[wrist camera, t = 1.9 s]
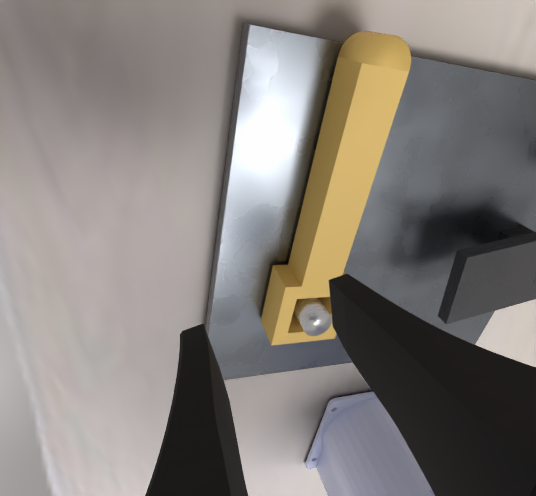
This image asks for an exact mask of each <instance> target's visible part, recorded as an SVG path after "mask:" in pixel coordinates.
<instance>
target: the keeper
mask: <svg viewBox="0 0 536 496" xmlns="http://www.w3.org/2000/svg"><path fill="white" fill-rule="evenodd" d="M534 299H536V232H534V231H532V230H531V229H529V228H527V227H526V226H522V227H517V228H513V229H508V230H504V231H501V232H500V235H499V237H498V240H497V241H493V242H489V243H484V244H480V245H476V246H472V247H467V248H463V249H459V250H457V252H456V255H455V259H454V262H453V265H452V269H451V272H450V276H449V279H448V282H447V286H446V289H445V292H444V296H443V299H442V303H441V306H440V309H439V313H438V317H439V318H440V319H441V320H442V321H443V322H444V323H445V324H449V323H453V322H456V321H460V320H463V319H467V318H470V317H474V316H477V315H481V314H484V313H488V312H491V311H495V310H498V309H502V308H506V307H509V306H513V305H516V304H520V303H523V302H527V301H530V300H534Z"/></svg>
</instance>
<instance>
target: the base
mask: <svg viewBox="0 0 536 496" xmlns="http://www.w3.org/2000/svg"><path fill="white" fill-rule="evenodd" d="M343 44H344V43H343V42H337V41H332V40H327V39H322V38H317V37H312V36H307V35H302V34H297V33H292V32H287V31H281V30H276V29H271V28H266V27H261V26H256V25H251V24H246V23H243V27H242V35H241V43H240V51H239V59H238V67H237V75H236V83H235V91H234V99H233V107H232V115H231V123H230V131H229V139H228V147H227V155H226V163H225V171H224V179H223V187H222V195H221V203H220V211H219V219H218V227H217V235H216V243H215V251H214V259H213V267H212V275H211V283H210V290H209V298H208V306H207V314H206V322H205V329H206V332H207V335H208V338H209V340H210V343H211V346H212V348H213V351H214V354H215V356H216V359H217V362H218V365H219V367H220V370H221V374H222V377H223V380H227V379H235V378H242V377H249V376H256V375H264V374H271V373H278V372H285V371H293V370H300V369H307V368H314V367H321V366H329V365H336V364H343V363H350V362H352V360H351V359H350V357H349V356H348V354H347V352H346V351H345V349H344V347H343V345H342V343H341V341H340V339H339V337H338V335H337V334H336V336H335V339H326V340H317V341H308V342H299V343H290V344H281V345H272V346H271V343H270V341H269V339H268V337H267V334H266V332H265V330H264V328H263V325H262V323H261V318H262V313H263V308H264V304H265V299H266V295H267V290H268V285H269V281H270V276H271V272H272V267H273V265H288V263H289V259H290V255H291V251H292V246H293V242H294V238H295V234H296V230H297V226H298V221H299V217H300V213H301V209H302V205H303V201H304V196H305V192H306V188H307V184H308V180H309V175H310V171H311V167H312V163H313V159H314V155H315V150H316V146H317V142H318V138H319V134H320V130H321V125H322V121H323V117H324V113H325V109H326V105H327V100H328V96H329V92H330V88H331V84H332V80H333V75H334V71H335V67H336V63H337V59H338V55H339V52H340V49H341V47H342V45H343ZM522 226H526V227H527V228H529V229H531V230H532V231H534V232H536V80H531V79H526V78H521V77H516V76H511V75H506V74H500V73H495V72H490V71H485V70H480V69H475V68H470V67H465V66H460V65H455V64H450V63H444V62H439V61H434V60H429V59H424V58H419V57H414V56H411V66H410V70H409V73H408V77H407V80H406V83H405V86H404V89H403V92H402V95H401V98H400V101H399V104H398V107H397V110H396V113H395V116H394V119H393V122H392V125H391V128H390V132H389V135H388V138H387V141H386V144H385V147H384V150H383V153H382V156H381V159H380V162H379V165H378V168H377V171H376V174H375V177H374V180H373V183H372V186H371V190H370V193H369V196H368V199H367V202H366V205H365V208H364V211H363V214H362V217H361V220H360V223H359V226H358V229H357V232H356V235H355V238H354V241H353V244H352V248H351V251H350V254H349V257H348V260H347V263H346V266H345V269H344V272H345V273H346V274H349V275H350V276H352V277H354V278H355V279H357V280H358V281H360V282H361V283H363V284H364V285H366V286H367V287H369V288H370V289H372V290H374V291H375V292H377V293H378V294H380V295H381V296H383V297H385V298H386V299H388V300H389V301H391V302H393V303H394V304H396V305H398V306H400V307H401V308H403V309H405V310H406V311H408V312H410V313H411V314H413V315H415V316H417V317H419V318H420V319H422V320H424V321H426V322H428V323H430V324H432V325H434V326H436V327H437V328H439V329H441V330H443V331H445V332H447V333H449V334H452V335H454V336H456V337H458V338H460V339H463V340H465V341H467V342H469V343H472V344H474V345H475V343H476V342H477V340H478V338H479V337H480V335H481V333H482V332H483V330H484V328H485V327H486V325H487V323H488V322H489V320H490V318H491V316H492V315H493V313H494V311H491V312H488V313H484V314H481V315H477V316H474V317H470V318H467V319H463V320H460V321H456V322H453V323H449V324H445V323H444V322H443V321H442V320H441V319H440V318H439V317H438V313H439V309H440V306H441V303H442V299H443V296H444V292H445V289H446V286H447V282H448V279H449V276H450V272H451V269H452V265H453V262H454V259H455V255H456V252H457V250H459V249H463V248H467V247H472V246H476V245H480V244H484V243H489V242H493V241H497V240H498V237H499V235H500V232H501V231H504V230H508V229H513V228H517V227H522ZM293 312H294V313H295V315H296V317H297V319H298V321H299V322H300V324H301V326H302V328H303V330H304V331H305V333H306V334H307V335H309V336H318V335H321V334H323V333H324V332H326V331H327V330H328V329H329V327H330V326H331V324H332V318H331V316H330V315H329V313H328V312H327V310H326V309H325V307H324V306H323V304H322V303H321V301H320V299H319V298H305V299H297V300H296V304H295V308H294V311H293Z"/></svg>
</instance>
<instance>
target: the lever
mask: <svg viewBox="0 0 536 496" xmlns="http://www.w3.org/2000/svg"><path fill="white" fill-rule="evenodd" d="M410 66H411V53H410V49H409V47H408V45H407V43H406V42H405V41H404V40H403V39H402V38H400V37H398V36H394V35H388V34H382V33H376V32H370V31H360V32H357V33H355V34H353V35H351V36H350V37H349V38H348V39H347V40H346V41H345V42H344V44H343V45H342V47H341V49H340V52H339V55H338V59H337V63H336V67H335V71H334V75H333V80H332V84H331V88H330V92H329V96H328V100H327V105H326V109H325V113H324V117H323V121H322V125H321V130H320V134H319V138H318V142H317V146H316V150H315V155H314V159H313V163H312V167H311V171H310V175H309V180H308V184H307V188H306V192H305V196H304V201H303V205H302V209H301V213H300V217H299V221H298V226H297V230H296V234H295V238H294V242H293V246H292V251H291V255H290V259H289V263H288V265H273V267H272V272H271V276H270V281H269V285H268V290H267V295H266V299H265V304H264V308H263V313H262V318H261V323H262V325H263V328H264V330H265V332H266V334H267V337H268V339H269V341H270V343H271V346H272V345H281V344H290V343H299V342H308V341H317V340H326V339H335V336H336V332H335V330H334V328H333V324H331V326H330V327H329V329H328V330H327V331H326V332H324V333H323V334H321V335H318V336H309V335H307V334H306V333H305V331H304V330H303V328H302V326H301V324H300V322H299V321H298V319H297V317H296V315H295V313H294V312H293V311H294V308H295V304H296V300H297V299H305V298H319V299H320V301H321V303H322V304H323V306H324V307H325V309H326V310H327V312H328V313H329V315H330V316H331V318H332V313H331V301H330V290H329V280H330V279H333V278H336V277H338V276H341V275H344V274H346V273H345V272H344V269H345V266H346V263H347V260H348V257H349V254H350V251H351V248H352V244H353V241H354V238H355V235H356V232H357V229H358V226H359V223H360V220H361V217H362V214H363V211H364V208H365V205H366V202H367V199H368V196H369V193H370V190H371V186H372V183H373V180H374V177H375V174H376V171H377V168H378V165H379V162H380V159H381V156H382V153H383V150H384V147H385V144H386V141H387V138H388V135H389V132H390V128H391V125H392V122H393V119H394V116H395V113H396V110H397V107H398V104H399V101H400V98H401V95H402V92H403V89H404V86H405V83H406V80H407V77H408V73H409V70H410Z"/></svg>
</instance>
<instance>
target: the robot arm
mask: <svg viewBox="0 0 536 496" xmlns="http://www.w3.org/2000/svg"><path fill="white" fill-rule="evenodd" d="M329 290H330V301H331V313H332V324H333V328H334V330H335V332H336V334H337V335H338V337H339V339H340V341H341V343H342V345H343V347H344V349H345V351H346V352H347V354H348V356H349V357H350V359H351V360H352V362H353V363H354V365H355V366H356V368H357V369H358V370H359V372H360V373H361V375H362V376H363V378H364V379H365V381H366V382H367V383H368V385H369V386H370V388H371V389H372V392H367V393H361V394H355V395H349V396H344V397H338V398H333V399H331V400H330V401H329V403H328V405H327V408H326V411H325V413H324V416H323V419H322V421H321V424H320V426H319V429H318V432H317V434H316V437H315V440H314V442H313V445H312V447H311V450H310V453H309V455H308V458H307V461H306V463H305V465H306V468H307V469H312V468H317V470H318V473H319V475H320V478H321V480H322V482H323V485H324V487H325V489H326V492H327V494H328V496H536V367H533V366H530V365H527V364H524V363H521V362H518V361H515V360H513V359H510V358H507V357H504V356H502V355H499V354H496V353H493V352H491V351H488V350H486V349H483V348H481V347H479V346H476V345H474V344H472V343H469V342H467V341H465V340H463V339H460V338H458V337H456V336H454V335H452V334H449V333H447V332H445V331H443V330H441V329H439V328H437V327H436V326H434V325H432V324H430V323H428V322H426V321H424V320H422V319H420V318H419V317H417V316H415V315H413V314H411V313H410V312H408V311H406V310H405V309H403V308H401V307H400V306H398V305H396V304H394V303H393V302H391V301H389V300H388V299H386V298H385V297H383V296H381V295H380V294H378V293H377V292H375V291H374V290H372V289H370V288H369V287H367V286H366V285H364V284H363V283H361V282H360V281H358V280H357V279H355V278H354V277H352V276H350V275H349V274H344V275H341V276H338V277H336V278H333V279H330V280H329ZM145 496H248V493H247V489H246V485H245V480H244V476H243V470H242V465H241V460H240V454H239V449H238V444H237V438H236V433H235V428H234V422H233V417H232V412H231V407H230V401H229V398H228V394H227V391H226V387H225V384H224V381H223V377H222V374H221V370H220V367H219V365H218V362H217V359H216V356H215V354H214V351H213V348H212V346H211V343H210V340H209V338H208V335H207V332H206V329H205V327H204V324H201V325H198V326H195V327H193V328H190V329H187V330H184V331H182V333H181V334H180V353H179V363H178V371H177V378H176V383H175V389H174V395H173V400H172V405H171V410H170V414H169V418H168V422H167V427H166V431H165V435H164V439H163V442H162V446H161V449H160V453H159V456H158V459H157V463H156V466H155V469H154V472H153V475H152V478H151V481H150V484H149V487H148V490H147V492H146V495H145Z"/></svg>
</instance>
